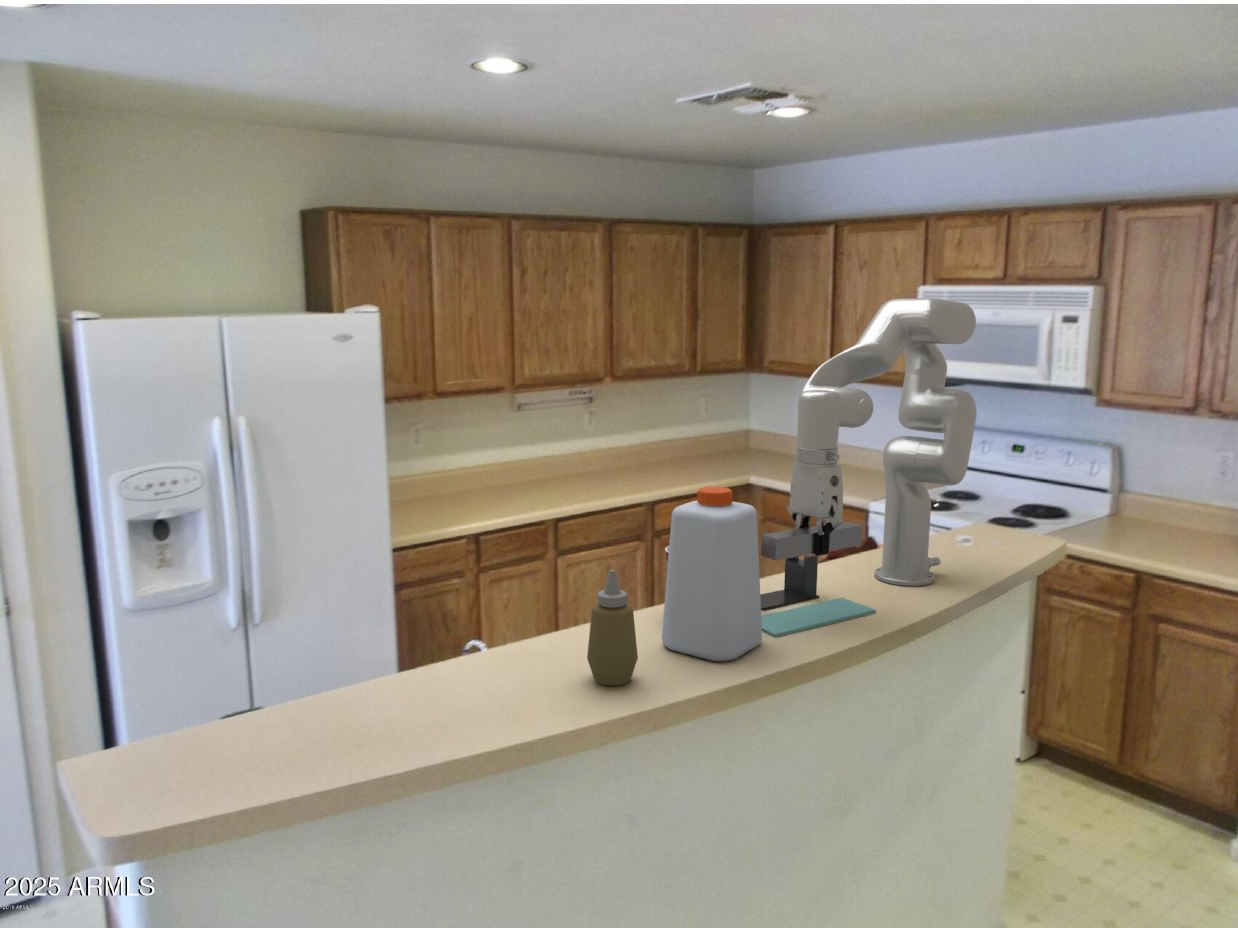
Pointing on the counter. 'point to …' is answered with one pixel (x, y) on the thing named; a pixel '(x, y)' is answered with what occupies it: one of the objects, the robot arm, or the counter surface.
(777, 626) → the mat
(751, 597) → the plastic bottle
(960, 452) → the robot arm
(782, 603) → the brackets
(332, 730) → the counter surface
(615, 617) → the squeeze bottle
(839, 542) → the rail
